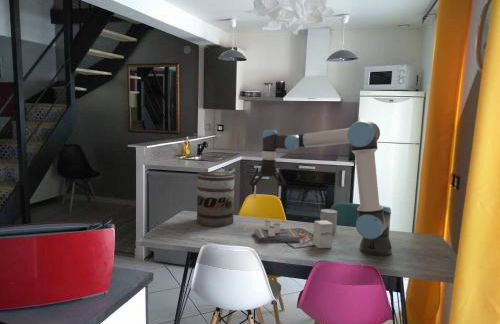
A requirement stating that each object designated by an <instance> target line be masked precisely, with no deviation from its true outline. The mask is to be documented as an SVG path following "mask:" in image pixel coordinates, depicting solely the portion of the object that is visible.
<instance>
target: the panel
mask: <svg viewBox="0 0 500 324" xmlns="http://www.w3.org/2000/svg"><path fill="white" fill-rule="evenodd" d="M254 236H255V237H256V239H257V242H258V243H299V242H300V243H301V237H300V235H299V234H298V233H297V232H296V230H294V229H293V228H280V233H275V236H268V230H265V229H264V228H263V229H261V228H259V229H258V228H257V229H255V228H254Z"/></svg>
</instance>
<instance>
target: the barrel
mask: <svg viewBox="0 0 500 324" xmlns="http://www.w3.org/2000/svg"><path fill="white" fill-rule="evenodd" d="M235 178H236V177H235V174H234V173H232V172H228V171H227V172H226V171H204V172H202V171H201V172H198V173H197V187H196V188H197V193H196V195H197V196H196V198H197V200H196V201H197V202H196V203H197V204H196V224H198V225H200V226H202V227H209V228H221V227H223V228H225V227H228V226H231V225H233V224H234V213H235V212H234V207H235V205H234V204H235Z"/></svg>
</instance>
